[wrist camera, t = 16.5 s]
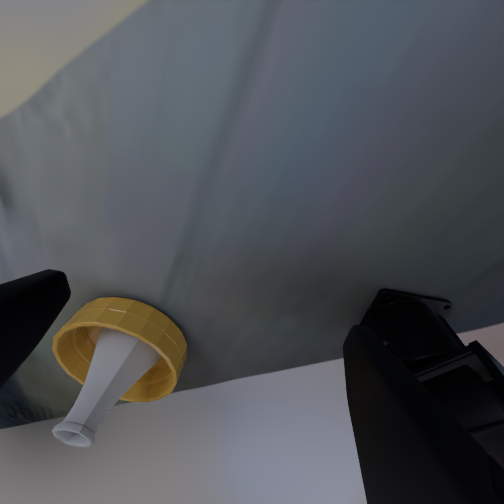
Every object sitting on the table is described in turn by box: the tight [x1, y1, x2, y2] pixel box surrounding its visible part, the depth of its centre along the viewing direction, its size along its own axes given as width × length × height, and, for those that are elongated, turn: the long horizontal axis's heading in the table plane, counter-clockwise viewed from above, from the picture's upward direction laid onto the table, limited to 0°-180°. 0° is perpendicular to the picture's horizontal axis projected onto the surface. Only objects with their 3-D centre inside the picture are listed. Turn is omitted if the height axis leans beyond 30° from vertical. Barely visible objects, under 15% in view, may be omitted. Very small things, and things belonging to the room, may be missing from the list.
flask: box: [53, 327, 161, 447], centre depth 25 cm, size 7×7×10 cm
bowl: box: [52, 297, 187, 402], centre depth 28 cm, size 13×13×4 cm
